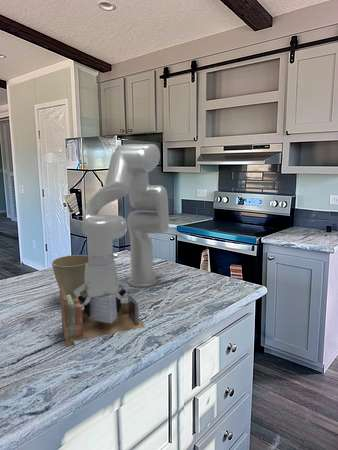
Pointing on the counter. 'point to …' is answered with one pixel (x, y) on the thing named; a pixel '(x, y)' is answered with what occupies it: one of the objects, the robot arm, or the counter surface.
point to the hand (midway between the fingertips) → (102, 312)
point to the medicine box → (103, 308)
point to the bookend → (133, 310)
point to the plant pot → (70, 273)
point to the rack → (90, 321)
